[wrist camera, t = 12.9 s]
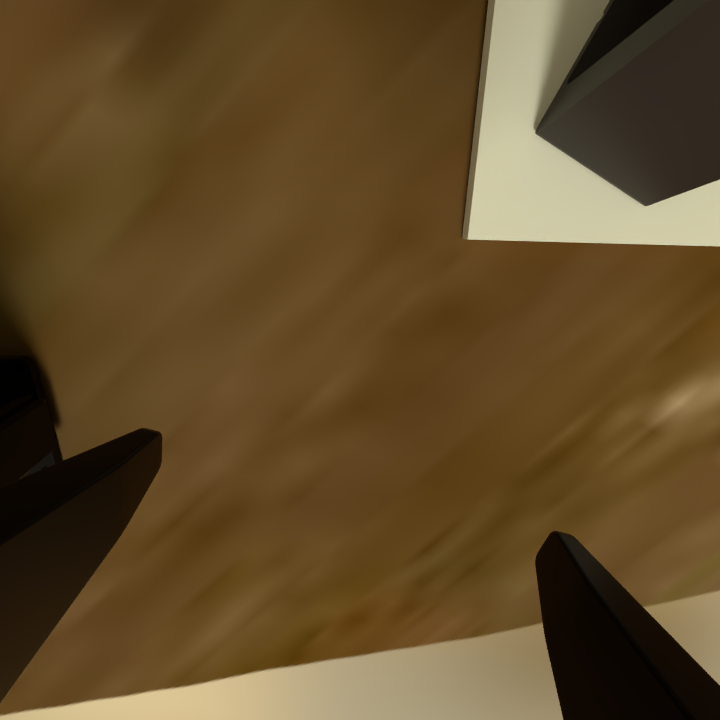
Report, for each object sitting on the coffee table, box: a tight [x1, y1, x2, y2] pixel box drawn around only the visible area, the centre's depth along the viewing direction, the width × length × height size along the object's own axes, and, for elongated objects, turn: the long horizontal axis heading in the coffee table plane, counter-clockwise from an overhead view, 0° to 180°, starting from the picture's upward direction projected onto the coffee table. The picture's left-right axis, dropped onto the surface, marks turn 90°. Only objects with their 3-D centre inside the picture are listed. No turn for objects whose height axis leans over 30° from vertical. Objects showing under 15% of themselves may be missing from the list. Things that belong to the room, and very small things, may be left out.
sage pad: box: [462, 0, 720, 246], centre depth 16 cm, size 14×14×1 cm
